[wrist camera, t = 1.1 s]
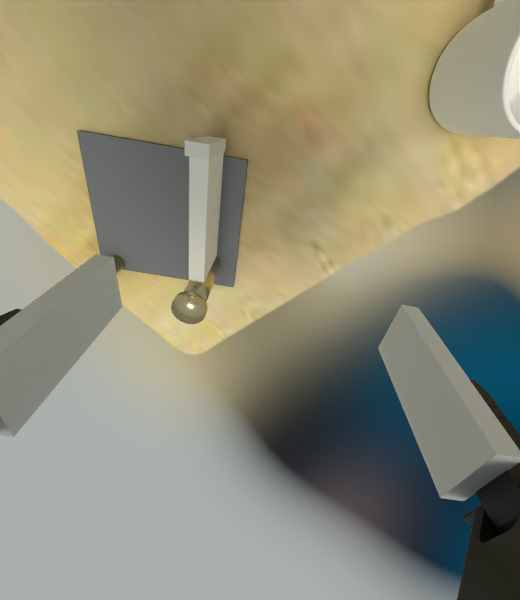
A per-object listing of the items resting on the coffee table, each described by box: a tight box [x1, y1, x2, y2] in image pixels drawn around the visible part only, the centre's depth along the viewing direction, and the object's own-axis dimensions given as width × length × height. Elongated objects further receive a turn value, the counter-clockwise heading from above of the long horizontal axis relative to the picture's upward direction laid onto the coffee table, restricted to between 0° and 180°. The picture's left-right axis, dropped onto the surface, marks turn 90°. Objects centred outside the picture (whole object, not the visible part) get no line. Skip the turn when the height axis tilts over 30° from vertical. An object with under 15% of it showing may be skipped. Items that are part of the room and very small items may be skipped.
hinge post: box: [171, 256, 221, 324], centre depth 30 cm, size 3×3×11 cm
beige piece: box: [185, 136, 226, 283], centre depth 26 cm, size 12×2×7 cm, turn 171°
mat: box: [77, 130, 248, 287], centre depth 31 cm, size 15×17×1 cm
